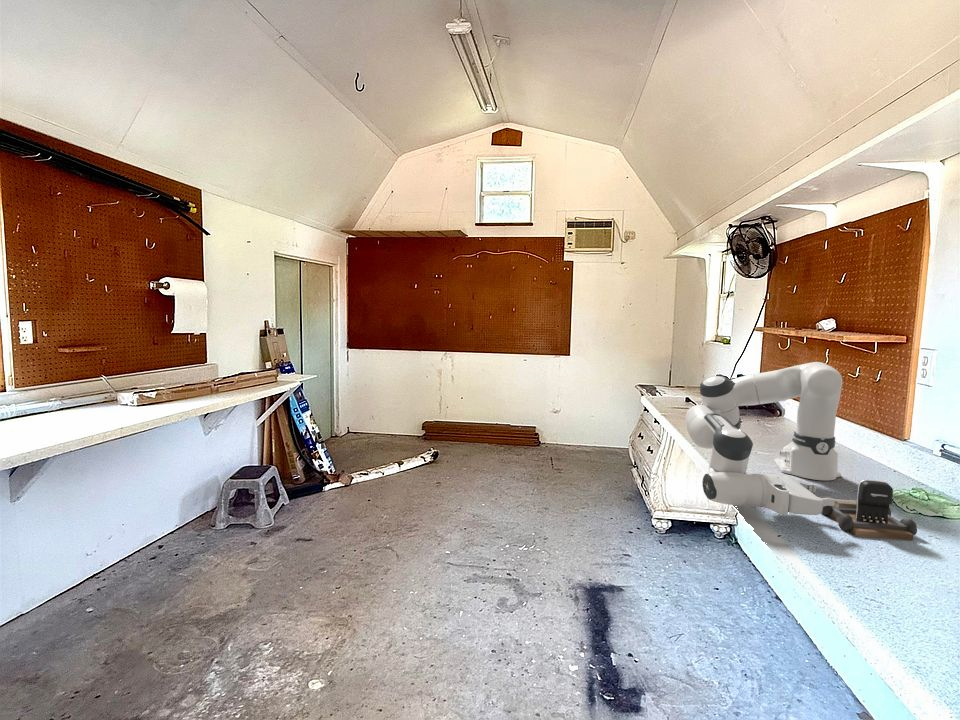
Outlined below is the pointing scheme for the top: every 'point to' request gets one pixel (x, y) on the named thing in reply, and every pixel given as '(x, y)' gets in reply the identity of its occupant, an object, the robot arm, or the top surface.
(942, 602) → the top surface
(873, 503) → the battery
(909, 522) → the chassis
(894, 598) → the top surface
